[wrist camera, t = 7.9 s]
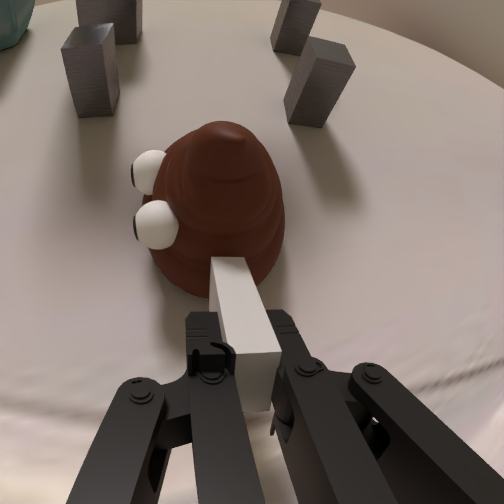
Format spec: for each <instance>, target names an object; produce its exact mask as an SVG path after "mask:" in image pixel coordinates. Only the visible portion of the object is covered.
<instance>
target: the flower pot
mask: <svg viewBox="0 0 504 504" xmlns="http://www.w3.org/2000/svg"><path fill="white" fill-rule="evenodd" d="M34 4H35V0H0V50H3V49H6V48H9V47H12V46H14V45H16V44H17V43H18V41H19V40H20V38H21V36H22V35H23V33H24V31H25V30H26V28H27V27H28V24H29V21H30V18H31V15H32V12H33V8H34Z"/></svg>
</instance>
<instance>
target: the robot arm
mask: <svg viewBox="0 0 504 504" xmlns="http://www.w3.org/2000/svg"><path fill="white" fill-rule="evenodd" d="M186 358H187V370H186V372H185V374H184V375H183V376H182V377H181V378H179V379H178V380H176V381H174V382H171V383H168V384H164V385H160V384H159V383H158V382H156V381H155V380H152V379H149V378H143V377H137V378H133V379H129V380H127V381H126V382H124V383H122V385H121V386H120V387H119V388H118V390H117V392H116V394H115V396H114V398H113V400H112V402H111V404H110V407H109V409H108V411H107V413H106V415H105V417H104V419H103V421H102V423H101V425H100V427H99V430H98V432H97V434H96V436H95V438H94V440H93V443H92V445H91V447H90V449H89V451H88V453H87V456H86V458H85V460H84V462H83V465H82V467H81V469H80V471H79V474H78V476H77V478H76V481H75V483H74V485H73V488H72V490H71V492H70V495H69V497H68V500H67V502H66V504H158V500H159V496H160V492H161V488H162V484H163V480H164V476H165V473H166V469H167V465H168V461H169V457H170V454H171V450H172V448H175V447H178V446H182V445H185V444H188V443H192V449H193V460H194V469H195V478H196V487H197V495H198V503H199V504H265V500H264V496H263V492H262V489H261V485H260V481H259V477H258V473H257V469H256V465H255V461H254V457H253V453H252V449H251V445H250V441H249V437H248V432H247V428H246V424H245V420H244V415H243V413H248V412H260V411H269V410H270V406H271V401H272V403H273V406H274V409H275V412H274V416H273V420H272V425H271V429H270V436H272V435H274V431H275V430H276V433H277V436H278V440H279V443H280V446H281V449H282V452H283V456H284V459H285V462H286V465H287V468H288V471H289V475H290V478H291V481H292V484H293V487H294V490H295V493H296V496H297V499H298V502H299V504H504V479H503V478H502V477H501V476H500V475H499V474H498V473H497V472H496V471H495V470H494V469H493V468H492V467H491V466H489V465H488V464H487V463H486V462H485V461H484V460H483V459H482V458H481V457H480V456H479V455H478V454H477V453H476V452H474V451H473V450H472V449H471V448H470V447H469V446H468V445H467V444H466V443H465V442H464V441H463V440H462V439H461V438H459V437H458V436H457V435H456V434H455V433H454V432H453V431H452V430H451V429H450V428H449V427H448V426H447V425H445V424H444V423H443V422H442V421H441V420H440V419H439V418H438V417H437V416H436V415H435V414H434V413H432V412H431V411H430V410H429V409H428V408H427V407H426V406H425V405H424V404H423V403H422V402H421V401H420V400H418V399H417V398H416V397H415V396H414V395H413V394H412V393H411V392H410V391H409V390H408V389H407V388H405V387H404V386H403V385H402V384H401V383H400V382H399V381H398V380H397V379H396V378H395V377H394V376H392V375H391V374H390V373H389V372H388V371H387V370H386V369H384V368H383V367H382V366H380V365H377V364H374V363H367V362H365V363H360V364H358V365H357V366H355V367H354V369H353V371H352V373H344V372H335V371H330V370H328V369H327V367H326V366H325V365H324V363H323V362H322V361H320V360H318V359H317V358H314V357H311V355H310V353H309V351H308V349H307V347H306V345H305V343H304V341H303V339H302V337H301V335H300V334H299V331H298V329H297V327H295V323H294V321H293V319H292V317H291V316H290V315H288V314H287V313H286V312H285V311H284V310H282V309H281V310H265V308H264V306H263V303H262V301H261V298H260V296H259V293H258V291H257V288H256V286H255V283H254V281H253V278H252V276H251V273H250V271H249V268H248V266H247V263H246V261H245V258H244V257H211V270H210V292H209V312H190V314H189V315H188V317H187V318H186ZM373 417H374V418H375V419H376V420H377V421H378V422H379V423H378V422H375V421H374V420H373V419H372V418H373Z"/></svg>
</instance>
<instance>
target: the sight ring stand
mask: <svg viewBox="0 0 504 504" xmlns="http://www.w3.org/2000/svg"><path fill="white" fill-rule="evenodd" d="M76 6H77V15H78V22H79V27H82V26H90V25H98V24H107V16H106V0H76Z"/></svg>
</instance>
